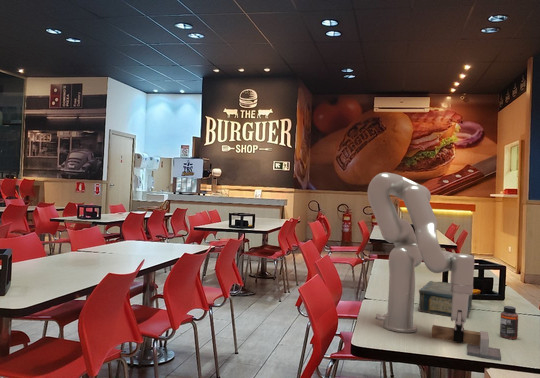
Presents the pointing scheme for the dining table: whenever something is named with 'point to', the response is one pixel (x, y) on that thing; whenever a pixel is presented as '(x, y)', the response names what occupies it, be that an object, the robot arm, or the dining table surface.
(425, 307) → the metal box
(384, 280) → the dining table surface
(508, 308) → the supplement bottle
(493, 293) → the dining table surface
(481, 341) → the stand
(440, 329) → the beam
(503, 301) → the dining table surface
